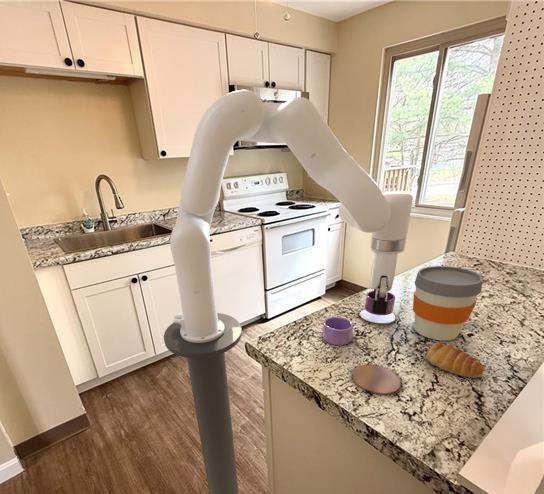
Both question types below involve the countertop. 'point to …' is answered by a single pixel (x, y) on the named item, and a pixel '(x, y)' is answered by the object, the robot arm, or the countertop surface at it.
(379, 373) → the near coaster
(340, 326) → the lavender dish
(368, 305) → the plum dish
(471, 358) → the pastry
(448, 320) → the reusable coffee cup
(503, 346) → the countertop surface
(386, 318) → the far coaster
